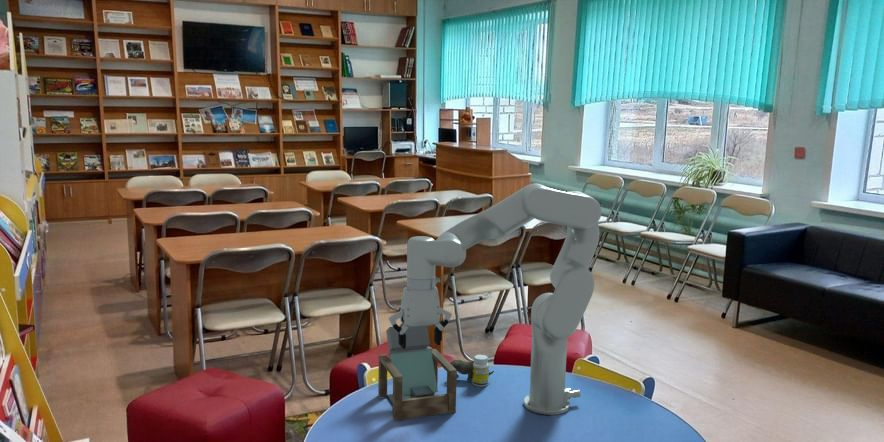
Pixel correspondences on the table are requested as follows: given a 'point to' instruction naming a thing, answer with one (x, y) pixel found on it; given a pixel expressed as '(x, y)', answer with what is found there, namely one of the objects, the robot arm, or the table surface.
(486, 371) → the supplement bottle
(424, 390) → the block
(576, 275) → the robot arm
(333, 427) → the table surface
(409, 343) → the grey and green slab
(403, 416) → the frame
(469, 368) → the rhino figurine
